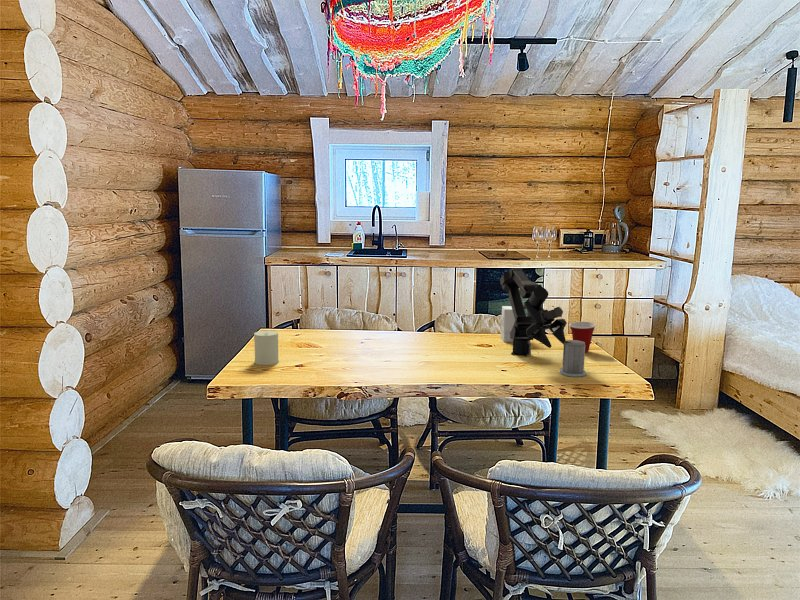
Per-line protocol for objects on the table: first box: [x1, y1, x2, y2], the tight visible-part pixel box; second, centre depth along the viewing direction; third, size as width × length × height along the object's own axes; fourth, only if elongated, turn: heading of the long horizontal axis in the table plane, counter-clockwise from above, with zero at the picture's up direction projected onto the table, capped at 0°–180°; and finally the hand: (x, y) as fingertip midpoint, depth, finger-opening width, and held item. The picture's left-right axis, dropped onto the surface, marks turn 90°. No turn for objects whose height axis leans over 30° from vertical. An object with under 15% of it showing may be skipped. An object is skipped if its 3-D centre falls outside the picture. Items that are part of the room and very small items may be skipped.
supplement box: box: [500, 305, 515, 343], centre depth 287 cm, size 9×9×15 cm
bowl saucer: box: [559, 368, 587, 378], centre depth 236 cm, size 10×10×4 cm
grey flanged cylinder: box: [561, 339, 586, 374], centre depth 235 cm, size 7×7×11 cm
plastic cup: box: [568, 321, 597, 354], centre depth 268 cm, size 11×11×12 cm
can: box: [253, 330, 280, 366], centre depth 244 cm, size 9×9×12 cm
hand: (558, 345), depth 241 cm, fingers open, 9 cm apart
